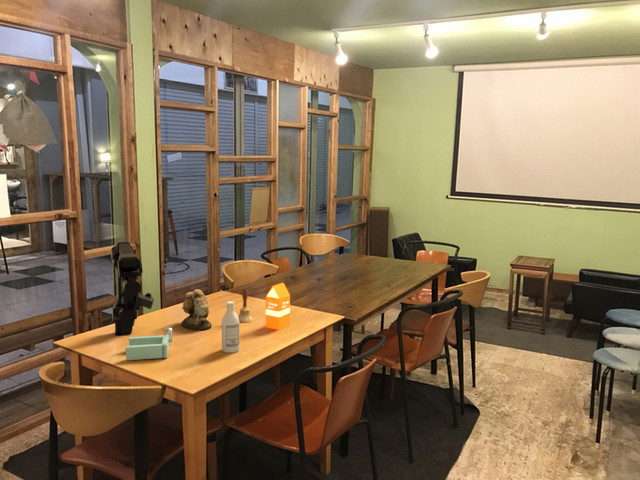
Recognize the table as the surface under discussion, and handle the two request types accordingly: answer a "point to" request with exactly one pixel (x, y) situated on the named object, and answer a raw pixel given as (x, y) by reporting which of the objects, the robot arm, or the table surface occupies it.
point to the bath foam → (230, 330)
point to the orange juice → (278, 307)
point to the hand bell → (245, 309)
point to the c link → (147, 347)
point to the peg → (169, 333)
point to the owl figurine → (196, 311)
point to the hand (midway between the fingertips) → (131, 329)
